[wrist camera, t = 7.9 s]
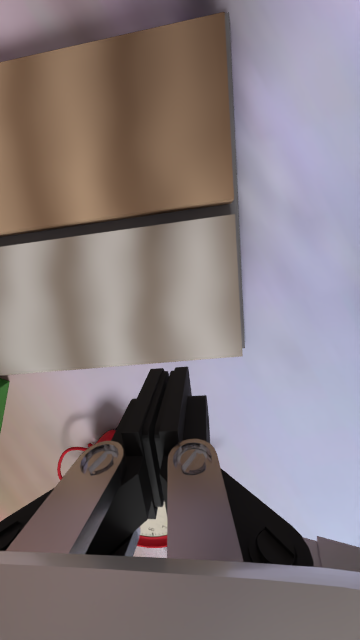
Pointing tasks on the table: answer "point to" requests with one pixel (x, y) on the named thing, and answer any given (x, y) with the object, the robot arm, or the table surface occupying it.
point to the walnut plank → (116, 128)
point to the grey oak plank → (121, 298)
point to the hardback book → (3, 398)
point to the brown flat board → (158, 218)
